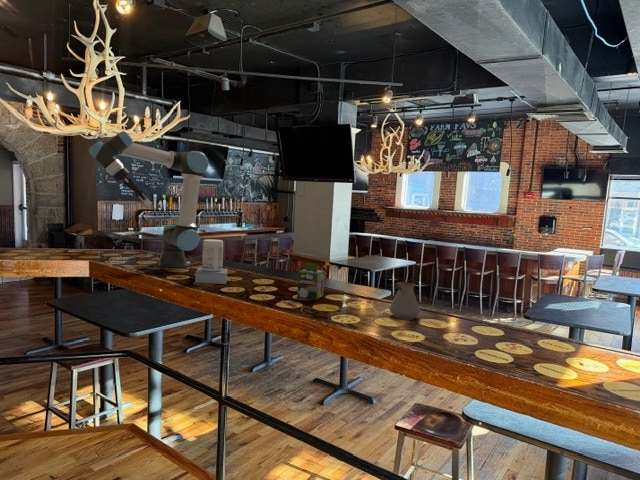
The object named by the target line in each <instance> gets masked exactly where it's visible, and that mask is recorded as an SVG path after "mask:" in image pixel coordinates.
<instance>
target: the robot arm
mask: <svg viewBox="0 0 640 480" xmlns="http://www.w3.org/2000/svg"><path fill="white" fill-rule="evenodd" d="M88 152H89V154H90V155H91V157H92V158H93V159H94V160H95V161H96V162H97V163H98V164H99V165H100V166H101V167H102V168H103V169H104V170H105V173H108V174H109V175H110V176H112V178H113V179H114V181H115V182H117V183H120V182H121V181H123V184H124V185H125V186H126V187H127V188H129V189H131V190H132V192H134V194H135V197H136V198H138V199H140V200H141V202H143V203H144V205H145V206H146V207H147V208H149V207H150V206H151V205H153V202H152V201H151V200H150V199H149V198H148V197H147V196H146V195H145V194H144V191H143V190H140V189H139V188H138V186H136V184H135V182H134V180H133V179H132V178H131V177H130V178H129V177H127V176H129V174H130V173H131V172H130V171H129V170H128V169H127V167H125V166H124V164H123V163H122V162H121V161H120V160H119V159H118V158H117V156H119V155H120V156H124V157H130V158H132V159H137V160H142V161H146V162H150V163H153V164H158V165H163V166H166V168H168V169H172V170H175V171H178V172H181V176H182V177H183V183H182V190H181V198H180V206H179V208H180V209H179V216H178V221H177V223H175V224H169V225H164V226H163V230H162V249H161V250H162V252H161V254H160V256H159V260H158V266H159V267H164V268H166V267H167V268H183V267H186V266H187V258H186V256H185V255H186V254H185V251H193V250H194V249H196V248H197V247H198V246H199V243H200V234H199V233H198V226H197V225H196V217H197V207H198V200H199V192H200V183H201V180H203V179H204V174H205V172H206V171H207V170H208V168H209V159H208V157H207V156H206V155H205V153H203V152H202V151H199V150H191V151H173V150H169V151H165V150H161V149H158V148H154V147H152V146H151V147H150V146H146V145H143V144H139V143H135V142H134V139H133V138H132V137H131V136H130V134H129V133H128V132H126V131H123V130H122V131H120V132H118V133H117V134H115V135H112V136H108V137H105V138H103V139H102V140H101V141H100V140H99V141H97V142H95V143H94V144H93V145H91V146H90V147H89V149H88Z"/></svg>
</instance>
